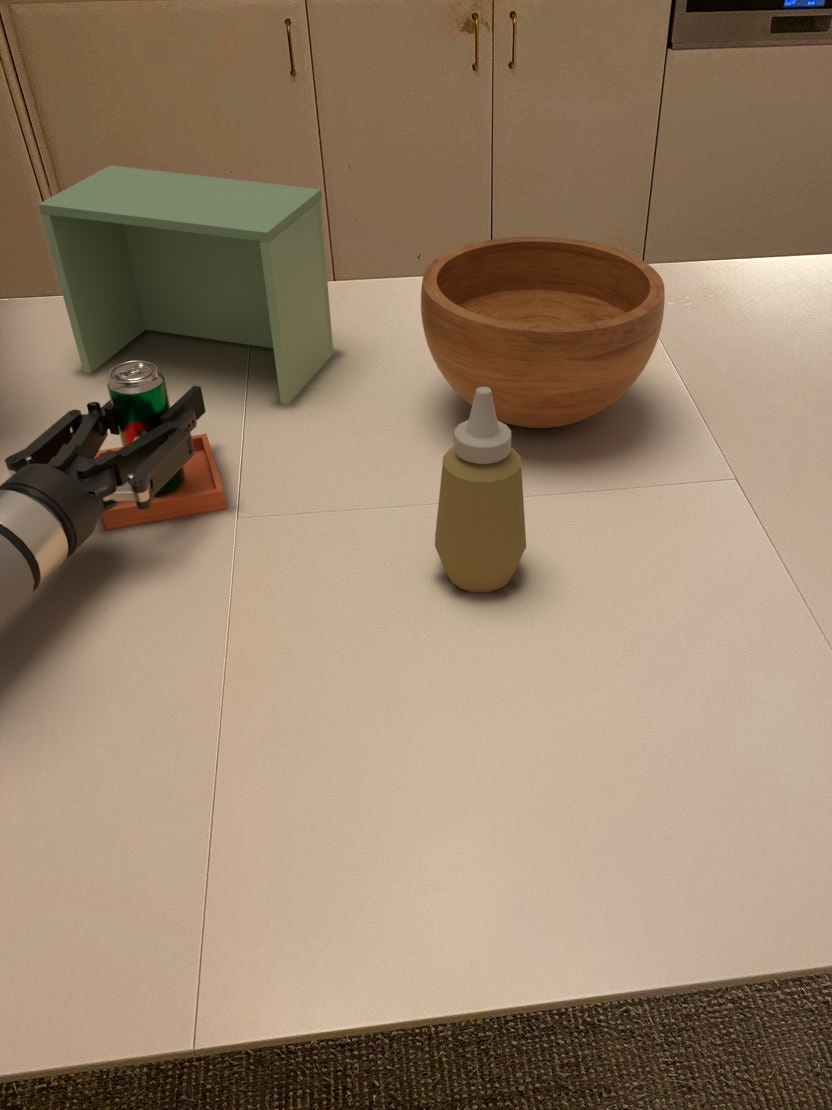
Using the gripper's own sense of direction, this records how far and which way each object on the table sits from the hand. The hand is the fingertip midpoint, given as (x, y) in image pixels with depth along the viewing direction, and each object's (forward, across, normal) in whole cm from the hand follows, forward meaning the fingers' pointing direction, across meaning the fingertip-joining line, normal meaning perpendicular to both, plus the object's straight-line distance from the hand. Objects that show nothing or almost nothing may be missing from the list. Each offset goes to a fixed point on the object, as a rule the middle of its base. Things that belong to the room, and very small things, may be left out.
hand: (172, 394), depth 96 cm
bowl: (+21, +32, -8) cm, 39 cm away
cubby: (+21, -8, -8) cm, 23 cm away
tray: (-5, 0, -8) cm, 9 cm away
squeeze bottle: (-9, +34, -8) cm, 36 cm away
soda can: (-5, 0, -7) cm, 9 cm away
